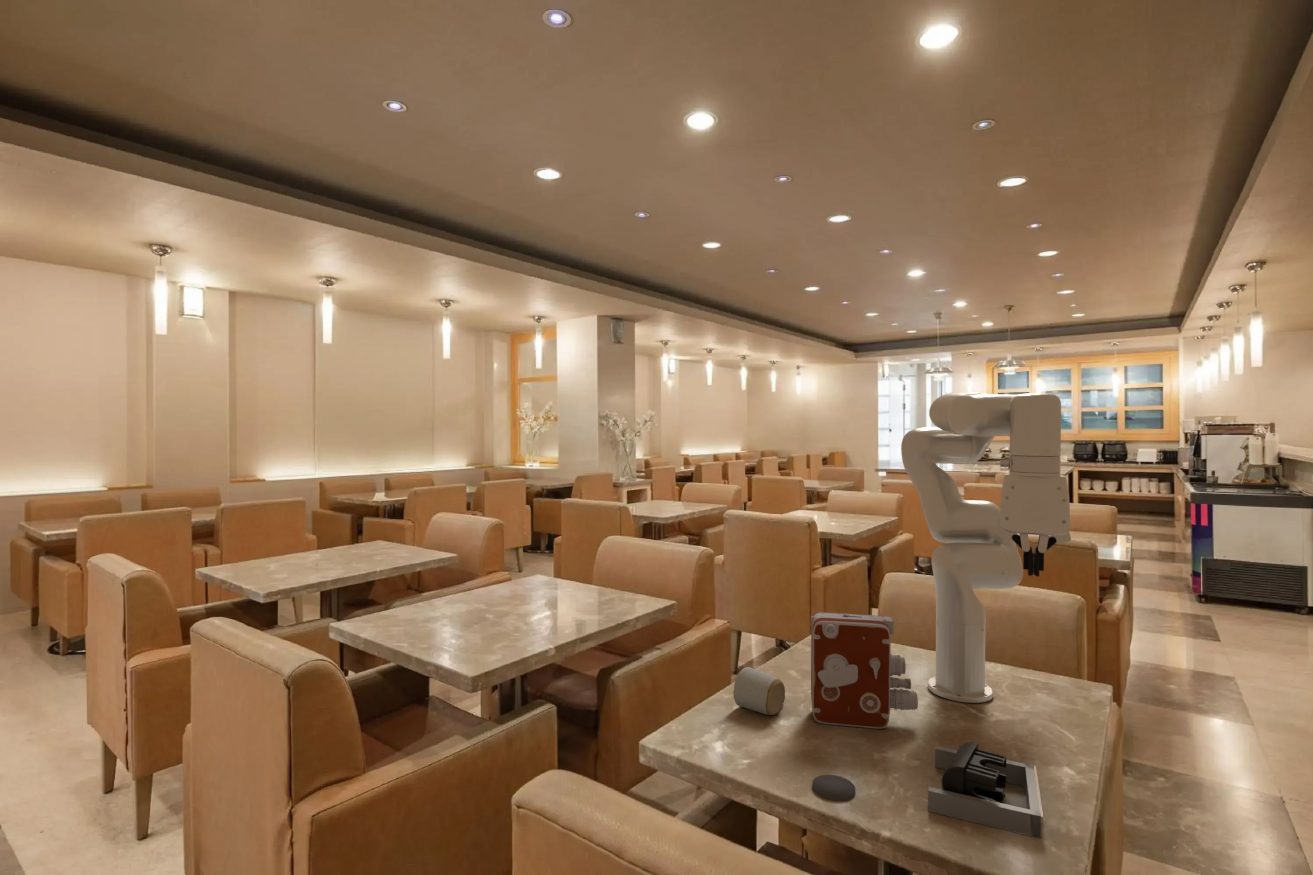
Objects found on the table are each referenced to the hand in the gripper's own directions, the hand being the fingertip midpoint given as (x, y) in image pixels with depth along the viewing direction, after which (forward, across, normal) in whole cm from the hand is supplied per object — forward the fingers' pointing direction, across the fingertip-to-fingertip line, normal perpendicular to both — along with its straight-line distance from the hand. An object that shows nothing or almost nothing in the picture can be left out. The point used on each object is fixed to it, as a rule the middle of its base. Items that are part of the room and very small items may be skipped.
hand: (1033, 574), depth 113 cm
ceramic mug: (+31, -47, -2) cm, 57 cm away
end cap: (+31, -8, -19) cm, 38 cm away
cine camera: (+31, -28, +1) cm, 42 cm away
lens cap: (+32, -28, -26) cm, 50 cm away
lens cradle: (+31, -8, -18) cm, 37 cm away
